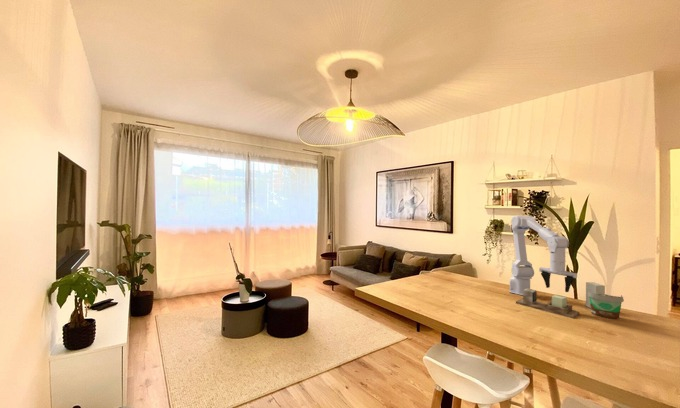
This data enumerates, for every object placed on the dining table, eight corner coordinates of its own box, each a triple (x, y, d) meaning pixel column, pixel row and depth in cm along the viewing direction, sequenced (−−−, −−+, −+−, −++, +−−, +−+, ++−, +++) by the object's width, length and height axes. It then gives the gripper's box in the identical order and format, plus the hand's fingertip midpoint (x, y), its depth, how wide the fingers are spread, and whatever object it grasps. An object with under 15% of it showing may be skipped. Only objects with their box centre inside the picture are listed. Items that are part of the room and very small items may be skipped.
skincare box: (605, 310, 132) (605, 285, 132) (596, 310, 132) (596, 285, 132) (593, 306, 138) (594, 282, 138) (585, 306, 138) (585, 282, 138)
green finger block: (550, 308, 131) (550, 296, 131) (555, 306, 133) (556, 294, 133) (561, 311, 127) (561, 298, 127) (566, 310, 130) (567, 297, 130)
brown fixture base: (515, 303, 141) (515, 289, 141) (523, 299, 146) (523, 286, 146) (573, 318, 122) (573, 302, 122) (579, 313, 128) (579, 298, 128)
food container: (591, 316, 124) (591, 294, 124) (587, 312, 130) (587, 291, 130) (629, 322, 118) (629, 299, 119) (622, 317, 124) (623, 295, 124)
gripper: (579, 263, 129) (579, 292, 129) (543, 258, 141) (543, 284, 141) (574, 264, 125) (573, 294, 125) (537, 259, 138) (537, 286, 138)
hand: (557, 289), depth 133 cm, fingers open, 7 cm apart
